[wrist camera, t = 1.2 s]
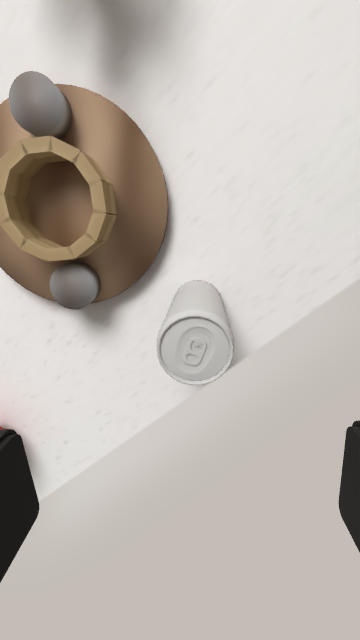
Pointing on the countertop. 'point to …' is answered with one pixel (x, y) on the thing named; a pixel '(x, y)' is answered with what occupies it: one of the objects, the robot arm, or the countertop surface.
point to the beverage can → (196, 335)
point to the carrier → (76, 193)
